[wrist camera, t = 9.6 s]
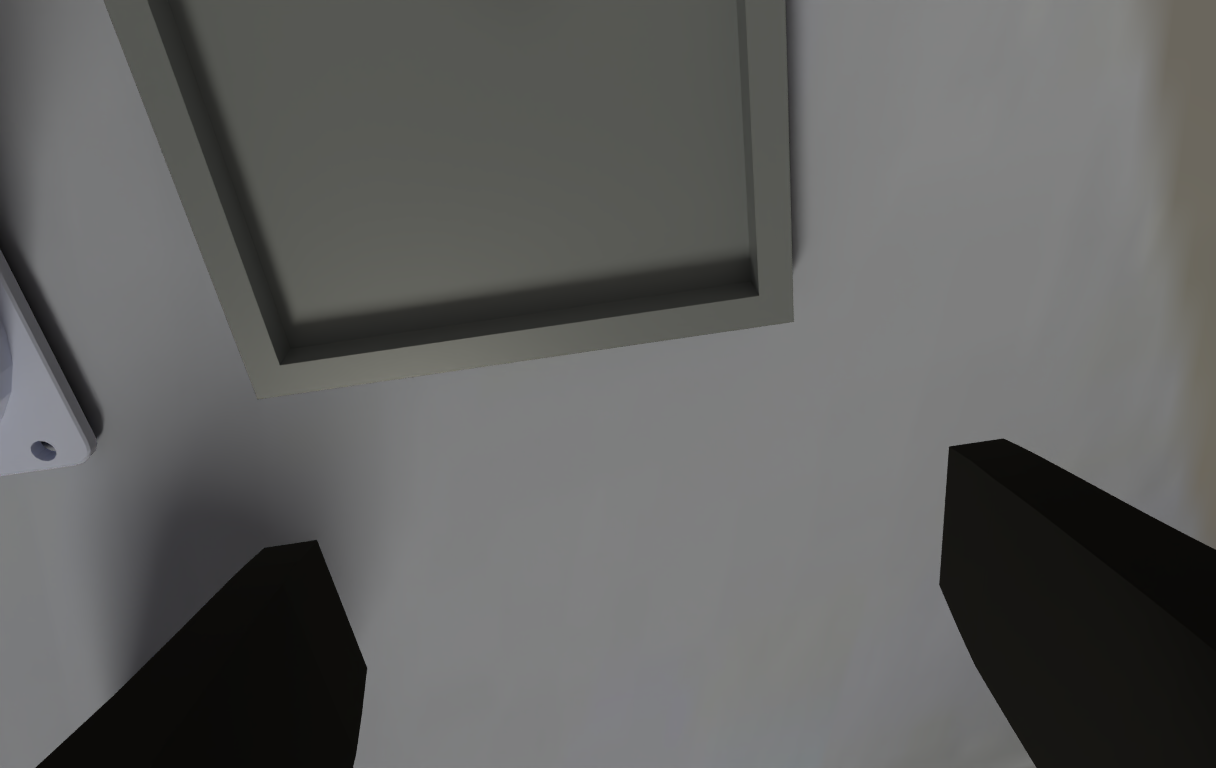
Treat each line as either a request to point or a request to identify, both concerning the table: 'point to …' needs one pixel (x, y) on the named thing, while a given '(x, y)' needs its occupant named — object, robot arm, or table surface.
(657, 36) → the tray
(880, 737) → the table surface
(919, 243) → the table surface
